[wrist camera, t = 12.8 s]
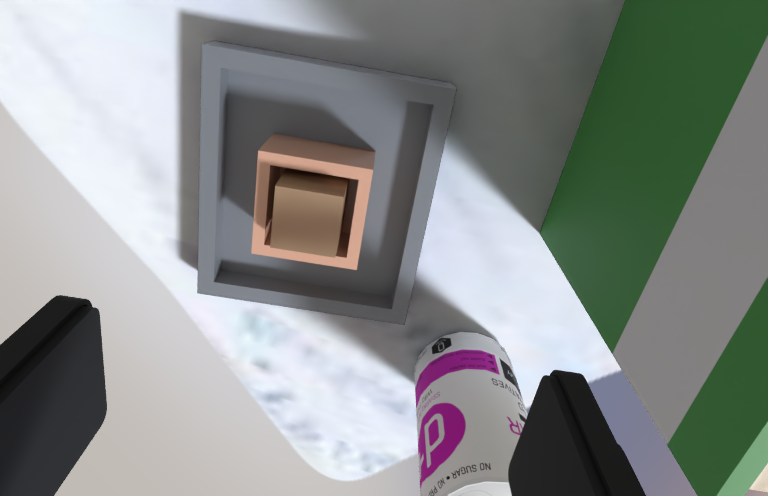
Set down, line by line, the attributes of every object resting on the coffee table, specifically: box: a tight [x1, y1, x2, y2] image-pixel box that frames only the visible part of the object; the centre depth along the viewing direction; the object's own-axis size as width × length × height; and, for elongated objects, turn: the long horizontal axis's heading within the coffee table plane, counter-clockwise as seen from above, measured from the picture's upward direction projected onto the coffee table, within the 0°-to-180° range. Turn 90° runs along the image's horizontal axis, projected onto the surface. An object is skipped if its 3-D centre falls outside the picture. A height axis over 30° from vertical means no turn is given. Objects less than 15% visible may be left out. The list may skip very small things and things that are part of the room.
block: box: [270, 168, 350, 258], centre depth 36 cm, size 4×4×6 cm
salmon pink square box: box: [251, 133, 376, 270], centre depth 36 cm, size 7×7×4 cm
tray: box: [197, 41, 456, 325], centre depth 38 cm, size 18×16×2 cm
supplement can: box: [414, 332, 528, 496], centre depth 39 cm, size 8×8×15 cm
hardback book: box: [540, 0, 768, 496], centre depth 26 cm, size 18×7×24 cm, turn 168°
